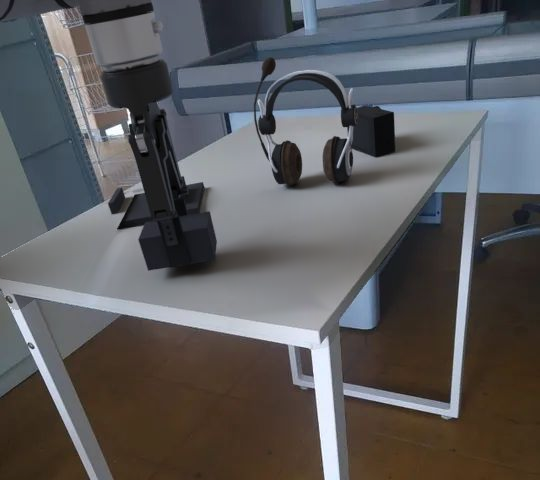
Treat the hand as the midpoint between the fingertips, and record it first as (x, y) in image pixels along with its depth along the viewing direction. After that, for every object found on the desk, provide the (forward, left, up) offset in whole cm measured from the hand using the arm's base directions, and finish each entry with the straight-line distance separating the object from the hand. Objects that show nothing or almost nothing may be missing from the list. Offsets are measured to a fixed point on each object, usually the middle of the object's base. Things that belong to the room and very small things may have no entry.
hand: (183, 253), depth 74 cm
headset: (+20, +25, -2) cm, 32 cm away
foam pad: (0, 0, 0) cm, 0 cm away
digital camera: (+33, +39, -2) cm, 51 cm away
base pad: (-9, +27, -2) cm, 28 cm away
